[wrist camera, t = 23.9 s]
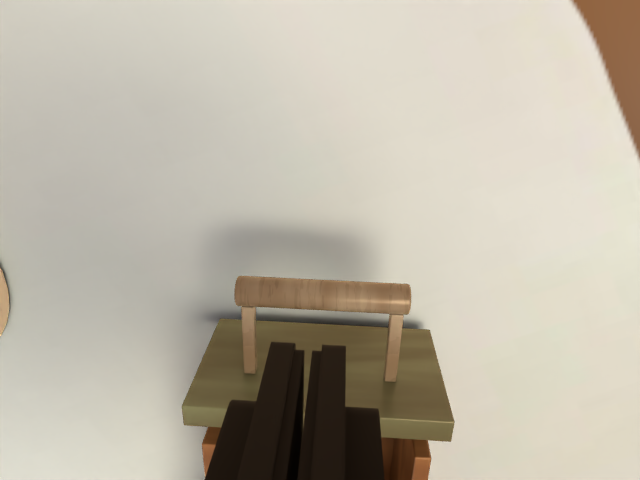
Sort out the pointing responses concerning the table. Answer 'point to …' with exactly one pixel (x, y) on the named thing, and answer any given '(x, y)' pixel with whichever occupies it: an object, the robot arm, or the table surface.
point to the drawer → (361, 364)
